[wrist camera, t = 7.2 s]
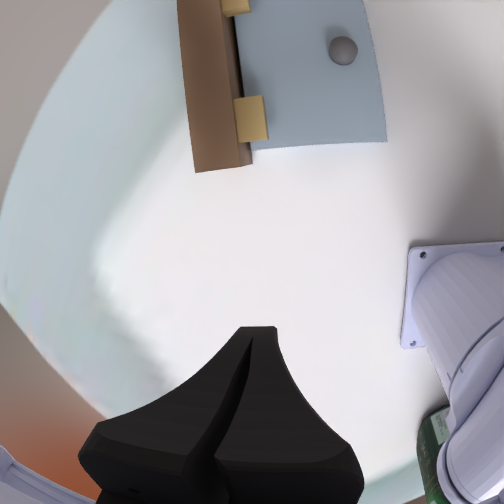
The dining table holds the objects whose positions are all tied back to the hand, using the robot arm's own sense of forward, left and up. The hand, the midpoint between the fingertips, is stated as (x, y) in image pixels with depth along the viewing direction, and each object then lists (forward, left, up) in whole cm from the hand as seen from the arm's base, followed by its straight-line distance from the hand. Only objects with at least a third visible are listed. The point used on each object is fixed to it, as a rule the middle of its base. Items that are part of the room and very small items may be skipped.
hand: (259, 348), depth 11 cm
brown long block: (+3, -13, -10) cm, 16 cm away
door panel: (-3, -13, -11) cm, 17 cm away
